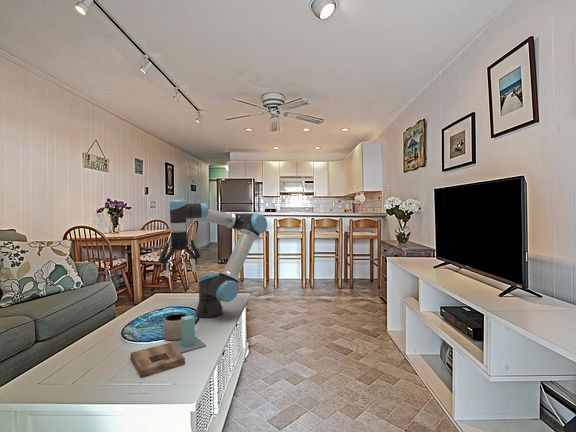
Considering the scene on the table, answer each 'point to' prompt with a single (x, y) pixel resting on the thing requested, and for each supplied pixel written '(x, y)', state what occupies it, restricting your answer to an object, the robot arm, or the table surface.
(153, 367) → the pocket board
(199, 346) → the rubber mat
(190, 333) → the teal block
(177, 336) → the planter
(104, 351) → the table surface
